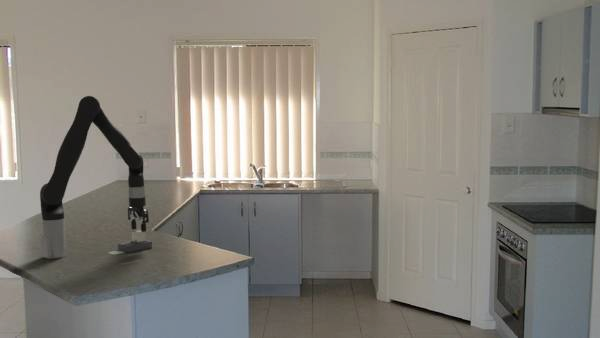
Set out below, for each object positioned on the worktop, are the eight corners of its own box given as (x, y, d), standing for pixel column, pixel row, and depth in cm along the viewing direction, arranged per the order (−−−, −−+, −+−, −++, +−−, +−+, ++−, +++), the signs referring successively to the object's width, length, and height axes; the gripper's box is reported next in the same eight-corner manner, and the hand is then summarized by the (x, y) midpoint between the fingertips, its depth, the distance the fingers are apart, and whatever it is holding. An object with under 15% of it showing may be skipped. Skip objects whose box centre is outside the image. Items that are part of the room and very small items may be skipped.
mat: (113, 255, 292) (113, 254, 292) (107, 253, 296) (106, 252, 296) (125, 253, 296) (125, 252, 296) (118, 251, 300) (118, 250, 300)
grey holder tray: (127, 253, 296) (126, 246, 296) (118, 250, 302) (118, 243, 301) (152, 248, 305) (151, 241, 305) (143, 246, 311) (142, 239, 310)
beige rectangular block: (137, 249, 302) (136, 232, 301) (132, 248, 305) (131, 231, 304) (145, 247, 305) (145, 231, 304) (140, 246, 308) (140, 229, 307)
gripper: (121, 195, 305) (123, 229, 307) (137, 198, 295) (139, 233, 297) (136, 193, 310) (137, 227, 312) (152, 196, 300) (154, 231, 302)
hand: (138, 230), depth 304 cm, fingers open, 8 cm apart
